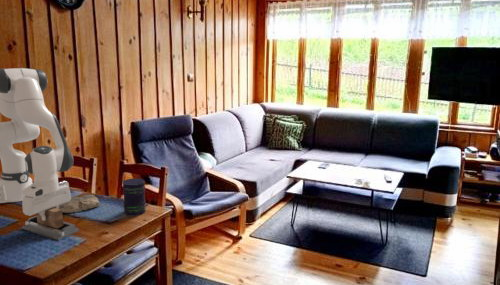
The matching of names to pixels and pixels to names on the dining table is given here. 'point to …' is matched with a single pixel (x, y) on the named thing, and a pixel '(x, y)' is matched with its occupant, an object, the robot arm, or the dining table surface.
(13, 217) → the dining table surface
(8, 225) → the dining table surface
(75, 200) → the grey brown rock
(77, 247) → the dining table surface
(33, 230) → the grey rectangular tray
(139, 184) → the storage jar
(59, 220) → the wooden block
